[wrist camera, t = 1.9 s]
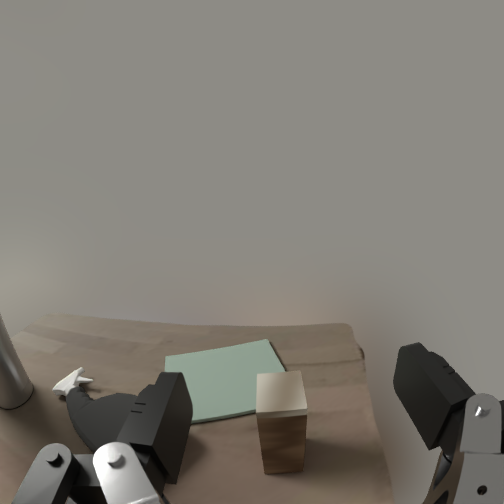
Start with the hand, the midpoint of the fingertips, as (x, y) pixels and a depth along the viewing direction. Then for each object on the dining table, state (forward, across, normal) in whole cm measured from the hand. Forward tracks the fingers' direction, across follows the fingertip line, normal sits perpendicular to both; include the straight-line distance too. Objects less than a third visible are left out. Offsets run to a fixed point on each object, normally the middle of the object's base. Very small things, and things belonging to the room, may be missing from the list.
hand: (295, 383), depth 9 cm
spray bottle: (+15, +24, +20) cm, 35 cm away
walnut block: (+11, 0, +21) cm, 23 cm away
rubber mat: (+26, +8, +20) cm, 33 cm away
